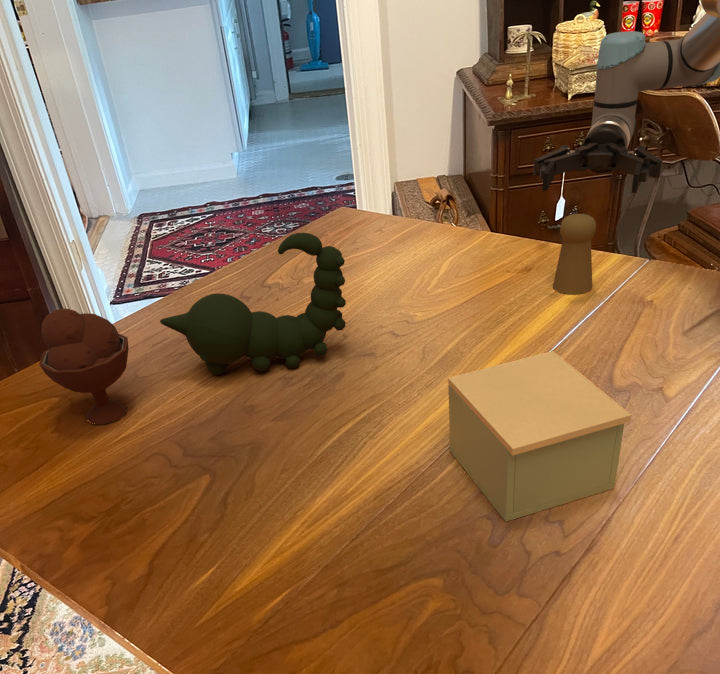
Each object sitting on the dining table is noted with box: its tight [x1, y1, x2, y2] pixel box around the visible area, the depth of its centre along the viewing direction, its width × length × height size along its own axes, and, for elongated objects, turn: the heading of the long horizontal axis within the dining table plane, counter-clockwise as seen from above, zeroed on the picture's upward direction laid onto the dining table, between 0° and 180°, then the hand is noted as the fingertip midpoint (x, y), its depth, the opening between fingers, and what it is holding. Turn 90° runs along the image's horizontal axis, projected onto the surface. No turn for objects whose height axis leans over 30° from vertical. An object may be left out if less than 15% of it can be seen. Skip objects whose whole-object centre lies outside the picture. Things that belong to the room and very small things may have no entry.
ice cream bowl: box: [38, 308, 130, 425], centre depth 93 cm, size 11×11×15 cm
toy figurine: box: [159, 232, 347, 376], centre depth 99 cm, size 9×19×25 cm
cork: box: [552, 213, 597, 295], centre depth 112 cm, size 6×6×11 cm
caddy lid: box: [447, 350, 632, 455], centre depth 74 cm, size 14×13×1 cm
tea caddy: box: [448, 384, 625, 522], centre depth 78 cm, size 14×13×9 cm
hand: (589, 183), depth 115 cm, fingers open, 13 cm apart
